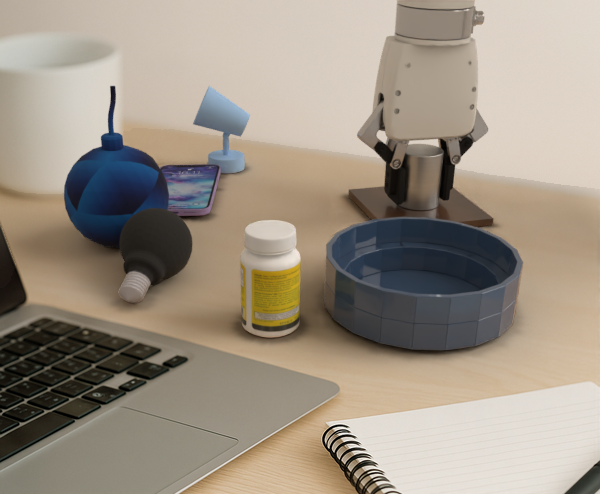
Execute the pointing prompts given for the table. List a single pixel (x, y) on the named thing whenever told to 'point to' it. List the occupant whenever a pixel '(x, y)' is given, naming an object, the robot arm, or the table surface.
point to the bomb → (112, 187)
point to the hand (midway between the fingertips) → (417, 196)
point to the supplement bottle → (270, 279)
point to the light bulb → (152, 250)
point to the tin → (422, 176)
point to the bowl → (422, 282)
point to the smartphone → (191, 188)
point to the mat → (453, 209)
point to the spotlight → (223, 128)
